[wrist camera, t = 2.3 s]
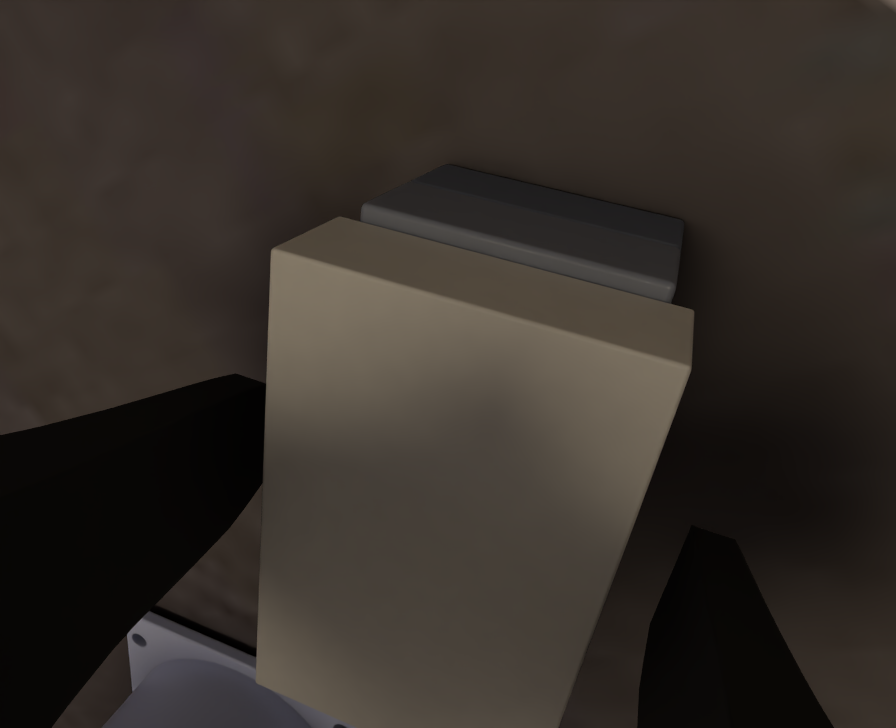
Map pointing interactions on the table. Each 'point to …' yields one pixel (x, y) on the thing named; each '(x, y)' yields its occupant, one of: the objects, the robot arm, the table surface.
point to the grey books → (537, 228)
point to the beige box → (448, 475)
